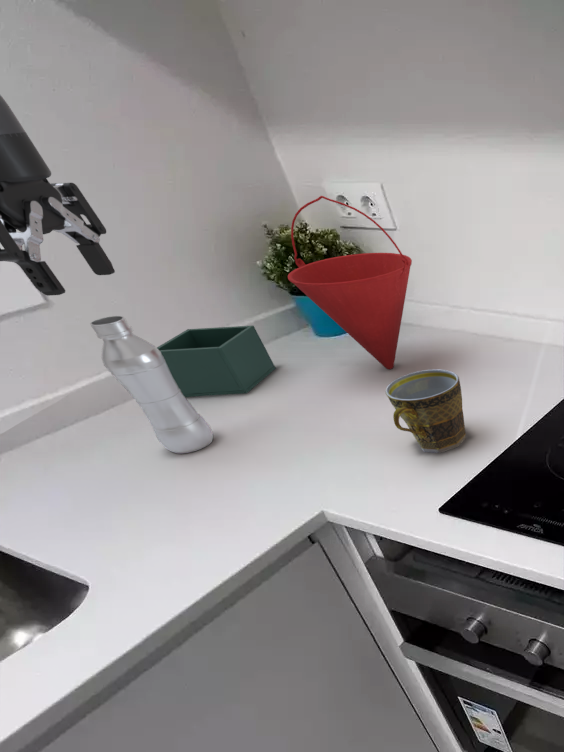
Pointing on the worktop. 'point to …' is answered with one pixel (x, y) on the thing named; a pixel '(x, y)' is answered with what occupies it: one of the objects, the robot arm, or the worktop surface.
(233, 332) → the bin
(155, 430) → the plastic bottle
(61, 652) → the worktop surface
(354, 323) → the fire bucket
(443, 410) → the ceramic cup
